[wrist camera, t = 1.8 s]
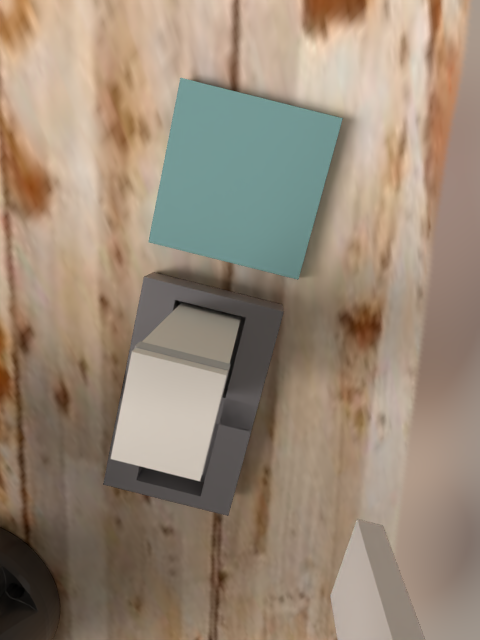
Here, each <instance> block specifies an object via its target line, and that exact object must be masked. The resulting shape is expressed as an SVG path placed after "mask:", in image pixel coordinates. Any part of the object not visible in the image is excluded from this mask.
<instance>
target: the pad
mask: <svg viewBox="0 0 480 640" xmlns="http://www.w3.org/2000/svg"><path fill="white" fill-rule="evenodd" d="M342 119H343V118H340V117H336V116H332V115H328V114H324V113H320V112H316V111H312V110H308V109H304V108H300V107H296V106H292V105H288V104H284V103H280V102H276V101H272V100H268V99H264V98H260V97H256V96H252V95H248V94H244V93H240V92H236V91H232V90H228V89H224V88H220V87H216V86H212V85H208V84H204V83H200V82H196V81H192V80H188V79H184V78H180V83H179V88H178V93H177V99H176V104H175V109H174V114H173V119H172V124H171V129H170V134H169V140H168V145H167V150H166V155H165V160H164V165H163V170H162V175H161V181H160V186H159V191H158V196H157V201H156V206H155V211H154V216H153V221H152V227H151V232H150V237H149V242H150V243H154V244H158V245H162V246H166V247H170V248H174V249H178V250H182V251H186V252H190V253H194V254H198V255H202V256H206V257H210V258H214V259H218V260H222V261H226V262H230V263H234V264H238V265H242V266H246V267H250V268H254V269H258V270H262V271H266V272H270V273H274V274H278V275H282V276H286V277H290V278H294V279H299V275H300V272H301V268H302V264H303V261H304V257H305V253H306V250H307V246H308V243H309V239H310V235H311V232H312V228H313V224H314V221H315V217H316V213H317V210H318V206H319V203H320V199H321V195H322V192H323V188H324V184H325V181H326V177H327V173H328V170H329V166H330V163H331V159H332V155H333V152H334V148H335V144H336V141H337V137H338V133H339V130H340V126H341V122H342Z"/></svg>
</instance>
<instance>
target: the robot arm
mask: <svg viewBox="0 0 480 640" xmlns="http://www.w3.org/2000/svg"><path fill="white" fill-rule="evenodd" d="M330 597H331V603H332V609H333V615H334V621H335V628H336V634H337V640H425V638H424V635H423V632H422V630H421V627H420V624H419V622H418V619H417V616H416V614H415V611H414V608H413V605H412V603H411V600H410V597H409V595H408V592H407V589H406V587H405V584H404V581H403V579H402V576H401V573H400V570H399V568H398V565H397V562H396V560H395V557H394V554H393V552H392V549H391V546H390V544H389V541H388V538H387V536H386V533H385V530H384V527H383V525H379V524H375V523H371V522H367V521H363V520H359V519H357V521H356V524H355V526H354V529H353V532H352V535H351V538H350V541H349V544H348V547H347V549H346V552H345V555H344V558H343V561H342V564H341V567H340V570H339V572H338V575H337V578H336V581H335V584H334V587H333V590H332V593H331V595H330ZM59 617H60V602H59V596H58V591H57V588H56V585H55V582H54V580H53V578H52V576H51V574H50V572H49V570H48V569H47V567H46V566H45V564H44V563H43V561H42V560H41V559H40V558H39V556H38V555H37V554H36V553H35V552H34V551H33V550H32V549H31V548H30V547H29V546H28V545H26V544H25V543H24V542H23V541H21V540H20V539H19V538H17V537H16V536H14V535H13V534H11V533H9V532H8V531H6V530H4V529H2V528H0V640H52V639H53V637H54V635H55V632H56V630H57V627H58V623H59Z"/></svg>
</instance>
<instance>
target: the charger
mask: <svg viewBox="0 0 480 640" xmlns="http://www.w3.org/2000/svg"><path fill="white" fill-rule="evenodd" d="M240 320H241V316H238V315H234V314H230V313H226V312H222V311H218V310H214V309H210V308H206V307H202V306H198V305H194V304H190V303H186V302H182V303H181V304H180V305H179V306H178V307H177V308H176V309H175V310H174V311H173V312H172V313H171V314H170V315H169V316H167V317H166V318H165V319H164V320H163V321H162V322H161V323H160V324H159V325H158V326H157V327H156V328H155V329H154V330H153V331H152V332H151V333H150V334H149V335H148V336H147V337H146V338H145V339H144V340H143V341H142V342H141V341H140V342H139V343H138V344H137V345H136V346H135V348H134V350H133V351H132V353H131V358H130V363H129V368H128V373H127V378H126V383H125V388H124V393H123V398H122V403H121V409H120V414H119V419H118V424H117V429H116V434H115V439H114V444H113V449H112V454H111V459H113V460H117V461H121V462H125V463H129V464H133V465H137V466H141V467H145V468H149V469H153V470H157V471H161V472H165V473H169V474H173V475H177V476H181V477H185V478H189V479H193V480H197V481H200V479H201V475H203V472H204V468H205V464H206V460H207V456H208V452H209V448H210V444H211V440H212V436H213V432H214V428H215V424H216V420H217V416H218V412H219V408H220V404H221V400H222V396H223V392H224V388H225V384H226V380H227V376H228V372H229V368H230V360H231V356H232V352H233V348H234V344H235V340H236V336H237V332H238V328H239V324H240Z"/></svg>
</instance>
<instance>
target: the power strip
mask: <svg viewBox="0 0 480 640" xmlns="http://www.w3.org/2000/svg"><path fill="white" fill-rule="evenodd" d="M182 302H186V303H190V304H194V305H198V306H202V307H206V308H210V309H214V310H218V311H222V312H226V313H230V314H234V315H238V316H241V320H240V324H239V328H238V332H237V336H236V340H235V344H234V348H233V352H232V356H231V360H230V368H229V372H228V376H227V380H226V384H225V388H224V392H223V396H222V400H221V404H220V408H219V412H218V416H217V420H216V424H215V428H214V432H213V436H212V440H211V444H210V448H209V452H208V456H207V460H206V464H205V468H204V472H203V475H201V479H200V481H197V480H193V479H189V478H185V477H181V476H177V475H173V474H169V473H165V472H161V471H157V470H153V469H149V468H145V467H141V466H137V465H133V464H129V463H125V462H121V461H117V460H113V459H111V454H112V449H113V444H114V439H115V434H116V429H117V424H118V419H119V414H120V409H121V403H122V398H123V393H124V388H125V383H126V378H127V373H128V368H129V363H130V358H131V353H132V351H133V350H134V348H135V346H136V345H137V344H138V343H139V342H140V341H141V342H142V341H143V340H144V339H145V338H146V337H147V336H148V335H149V334H150V333H151V332H152V331H153V330H154V329H155V328H156V327H157V326H158V325H159V324H160V323H161V322H162V321H163V320H164V319H165V318H166V317H167V316H169V315H170V314H171V313H172V312H173V311H174V310H175V309H176V308H177V307H178V306H179V305H180V304H181V303H182ZM283 313H284V310H283V305H282V304H278V303H274V302H271V301H267V300H263V299H259V298H255V297H251V296H247V295H243V294H239V293H235V292H231V291H227V290H223V289H219V288H215V287H211V286H207V285H203V284H199V283H195V282H191V281H187V280H183V279H179V278H175V277H171V276H167V275H163V274H159V273H155V272H153V273H151V274H149V275H147V276H144V279H143V285H142V290H141V295H140V300H139V305H138V310H137V315H136V320H135V325H134V330H133V335H132V341H131V346H130V351H129V356H128V361H127V366H126V371H125V376H124V381H123V386H122V391H121V397H120V402H119V407H118V412H117V417H116V422H115V427H114V432H113V437H112V442H111V447H110V453H109V458H108V463H107V468H106V473H105V478H104V483H103V485H107V486H111V487H115V488H119V489H123V490H127V491H131V492H135V493H139V494H143V495H147V496H151V497H155V498H159V499H163V500H167V501H171V502H175V503H179V504H183V505H187V506H191V507H195V508H199V509H203V510H207V511H211V512H215V513H219V514H223V515H227V516H228V515H229V511H230V508H231V504H232V500H233V497H234V493H235V489H236V486H237V482H238V478H239V474H240V471H241V467H242V463H243V460H244V456H245V452H246V449H247V445H248V441H249V438H250V434H251V430H252V427H253V423H254V419H255V416H256V412H257V408H258V405H259V401H260V397H261V394H262V390H263V386H264V383H265V379H266V375H267V371H268V368H269V364H270V360H271V357H272V353H273V349H274V346H275V342H276V338H277V335H278V331H279V327H280V324H281V320H282V316H283Z"/></svg>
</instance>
